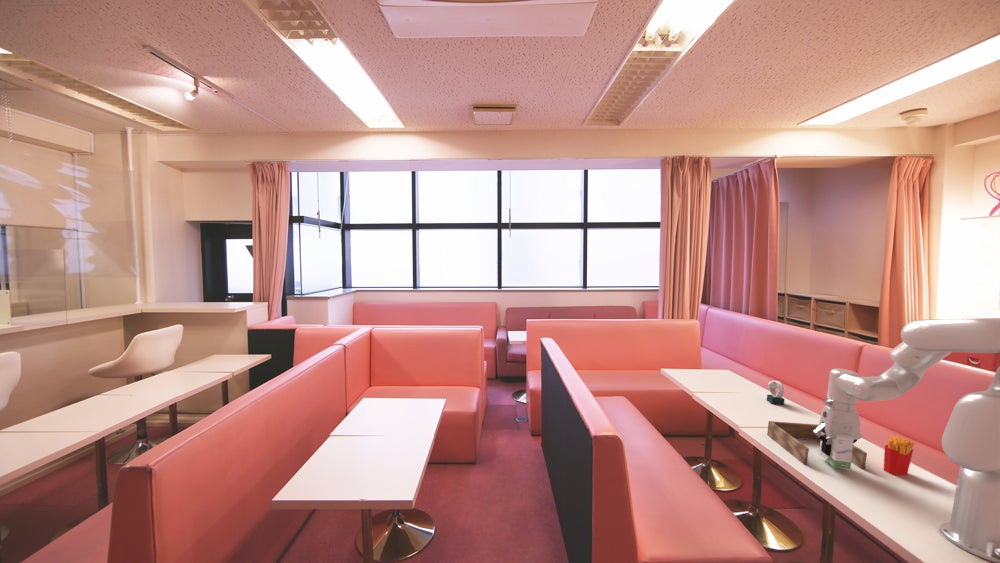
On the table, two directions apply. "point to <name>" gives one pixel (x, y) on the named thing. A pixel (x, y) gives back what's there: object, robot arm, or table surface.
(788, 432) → the brown wooden angled piece
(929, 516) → the table surface
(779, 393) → the watch
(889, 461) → the french fries
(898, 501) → the table surface
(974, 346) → the robot arm
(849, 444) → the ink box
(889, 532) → the table surface
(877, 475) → the table surface
